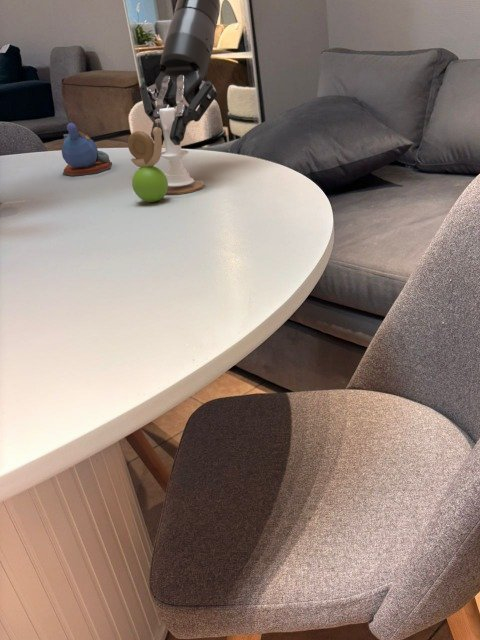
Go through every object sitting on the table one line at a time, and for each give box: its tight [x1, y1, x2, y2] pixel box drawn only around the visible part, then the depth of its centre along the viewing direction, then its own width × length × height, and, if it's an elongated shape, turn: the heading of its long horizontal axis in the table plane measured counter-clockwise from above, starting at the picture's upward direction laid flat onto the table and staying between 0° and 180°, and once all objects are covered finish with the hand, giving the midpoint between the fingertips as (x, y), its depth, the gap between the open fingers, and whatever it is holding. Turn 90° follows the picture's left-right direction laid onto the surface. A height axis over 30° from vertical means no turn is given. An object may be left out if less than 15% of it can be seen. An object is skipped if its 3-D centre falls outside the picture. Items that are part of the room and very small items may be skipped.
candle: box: [159, 105, 195, 187], centre depth 103 cm, size 5×5×12 cm
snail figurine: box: [127, 119, 168, 203], centre depth 97 cm, size 5×6×12 cm
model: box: [61, 122, 113, 177], centre depth 126 cm, size 12×9×9 cm
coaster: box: [165, 180, 205, 196], centre depth 107 cm, size 8×8×1 cm
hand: (165, 141), depth 101 cm, fingers closed on candle, 2 cm apart
